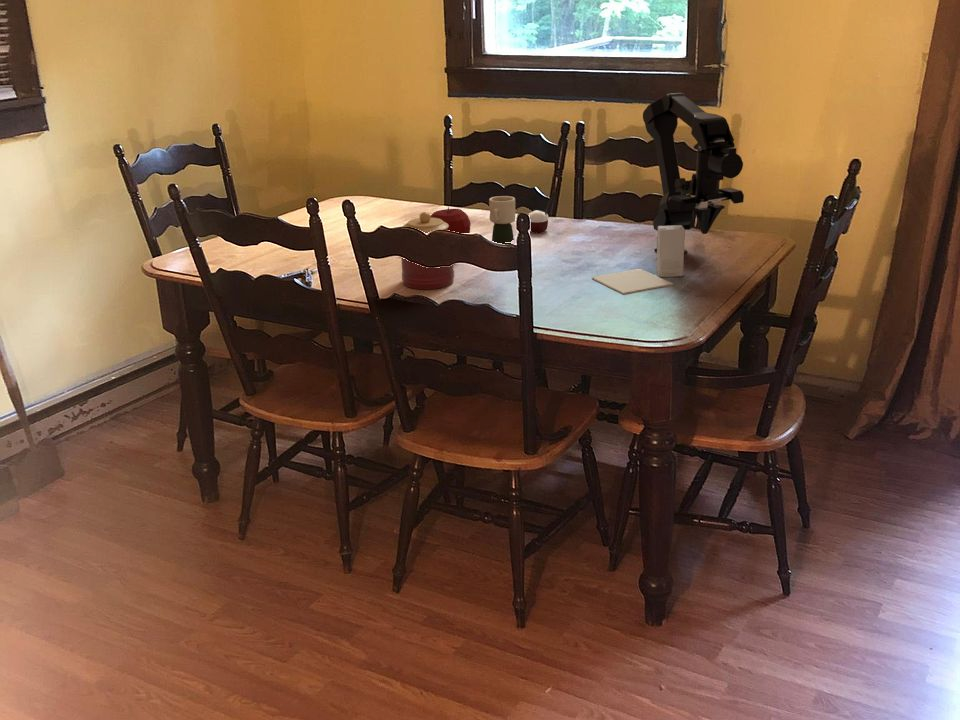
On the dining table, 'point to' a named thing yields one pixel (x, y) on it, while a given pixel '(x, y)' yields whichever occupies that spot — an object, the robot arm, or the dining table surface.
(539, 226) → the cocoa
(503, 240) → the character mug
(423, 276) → the canister
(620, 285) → the mat
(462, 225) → the apple
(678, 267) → the skincare box
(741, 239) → the dining table surface
